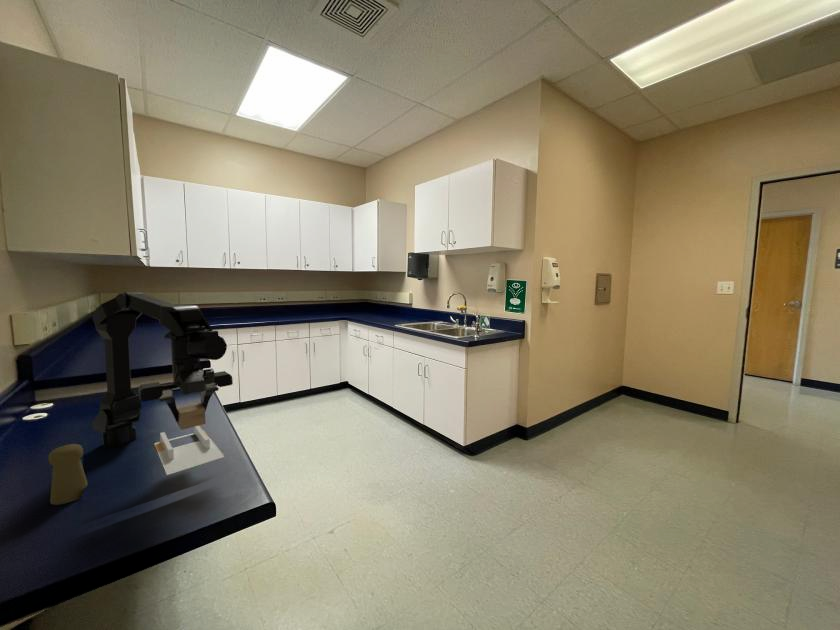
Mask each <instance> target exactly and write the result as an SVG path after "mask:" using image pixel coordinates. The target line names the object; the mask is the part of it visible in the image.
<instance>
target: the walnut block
mask: <svg viewBox="0 0 840 630" xmlns="http://www.w3.org/2000/svg"><path fill="white" fill-rule="evenodd" d="M176 408H177V412H178V419H179V422H176V424H177V425H178V427H179V428H180V430H182V431H183V430H187V429H191V428H194V427H195V426H202V425H206V424H207V423H206V411H205V408H204V407H203V406H202V405H201V402H199V401H198V402H195V403H194V402H193V403H188V404H185V405H184V404H183V405H179V406H176Z"/></svg>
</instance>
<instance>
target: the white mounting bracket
mask: <svg viewBox="0 0 840 630" xmlns="http://www.w3.org/2000/svg"><path fill="white" fill-rule="evenodd" d="M159 435H160V436H159V437H160V438H159V439H160V441H157V442H155V443H153V444H154V447H155V449H156V452H157V454H158V456H159V459H160V462H161V465H162V466H163V469H164V471H165V474H166V476H169V475H172V474H175V473H178V472H182V471H185V470H188V469H192V468H195V467H197V466H200V465H204V464H207V463H210V462H213V461H216V460H219V459H223V458H225V455H224V454H223V453H222V451H221V450H220V448H219V447H217V446H218V445H216V443H215V442H214V441H213V440H212V439H211V437H209V435H208V434H207V432H206V431H205V430H203V428H202V427H201V425H199V426H195V427H193V433H189V434H185V435H181V436H177V437H174V438H168V436H167V434H166V432H165V431H162V432H160V433H159ZM194 435H195V436H196V438H197V439H198V440H197V441H194V442H190V443H186V444H182V445H179V446H175V447H173V445H172V444H171V442H170V441H174V440H178V439H183V438H186V437H189V436H194Z"/></svg>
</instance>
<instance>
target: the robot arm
mask: <svg viewBox="0 0 840 630" xmlns="http://www.w3.org/2000/svg"><path fill="white" fill-rule="evenodd" d="M142 315H146V316H148V317H151V318H153V319H156V320H158V321H159V324H160V326H162V327H164V328H165V329H167V330H168V332H167V333H165V335H164V336H163V337H164V339H166V340H170V351H171V352H170V353H171V355H170V356H171V367H172V368H171V369H172V383H168V384H161V383H160V382H159V381H155V382H148V383H143V384H139V386H138V389H137V391H138V394H137V393H136V392H134V390H133V389H132V383H131V381H132V379H131V378H132V377H131V376H132V375H131V361H130V360H131V359H130V358H131V357H130V342H129V341H130V340H129V339H130V336H131V335H132V334H133V332H134V331H135V329H136V325H137V320H138V319H139V317H141V316H142ZM91 318H92V321H93V323H94V327H95V330H96V332H97V333H98V334H99V335H100V336H101V337H102V338H103V340H104V355H105V358H104V359H105V374H106V387H107V388H106V389H107V390H106V393H105V395H104V396H103V397H102V399H101V401H100V403H99V411H98V413H97V414H96V416H95V418H94V419H93V420H92V422H91V424H92V428H93V431H95V432H99V433H102V441H103V442H102V443H103V448H104V449H106V448H114V447H119V446H124V445H125V444H129V443H130V442H133V441H136V440H137V431H136V427H135V425H133V423H137V422H139V421H140V418H141V414H142V413H141V412H142V409H143V407H142V402H149V401H154V400H158V402H165V403H166V405H167V406H168V409H169V410H170V412H171V414H172V416H173V418H174V419H175V420H174V421H175V422H176V423H177V422H179V419H178V412H177V408H176V407H177V404H176V397H175V396H174V394H173V393H174V392H177V391H180V393H181V394H182V395H190V394H192V393H193V394H194V393H197V392H198V393H200V404H201V405H202V406H203V407H204V408H205V412H206V411H207V408H208V404H209V402H210V399H211V398H212V395H213V394H214V393H215V392H218V391H219V389H220V388H223V387H228V386H232V385H233V383H234V382H233V376H232V375H231V374H230V373H228V372H227V371H225V370H224V371H216V372H215V370H214V368H213V367H212V368H207V369H203V368H202V364H201V360H208V361H209V360H211V361H212V360H213V361H218V360H220V359H221V358H223V357H224V355H226V352H227V347H228V346H227V343H226V341H225V339H224V338H223V337H222V336H220V335H219V331H218V330H213V328H212V327H211V324H210V322H208V321H207V318H206V317H205V315H204V313H203V312H202V311H201V308H200V307H199V306H198V305H194V304H182V303H181V304H176V303H170V302H168V301H164V300H161V299H159V298H156V297H153V296H151V295H148V294H145V293H143V292H141V291H125V292H124V291H123V292H120V293H118V294H117V295H116V296H115V297H114V298H112V299H110V300H108V301H105V302H103V303H101V304H100V305H99V306H98V307H97V308H96V309H95V310H94V311H93V313H92V317H91Z"/></svg>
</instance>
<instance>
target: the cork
mask: <svg viewBox="0 0 840 630" xmlns="http://www.w3.org/2000/svg"><path fill="white" fill-rule="evenodd" d="M83 455H84V449H83V446H82V445H80V444H77V443H70V444H66V445H65V444H64V445H61V446H59V447H56V448H54V449H52V450H51V451H50V452H49V454H48V457H47V458H48V459H47V460H48V463H49V465H51V466H52V475H51V485H50V486H51V487H50V500H49V503H50V504H51V505H56V506H58V505H65V504H68V503H72V502H74V501H77V500H79V499H81V498H83V493H84V492H83V490H84V489H85V488H87V487H88V485H89V483H88V480H87V477H86V474H85V471H84V466H83V464H82V460H81V458H82V456H83Z"/></svg>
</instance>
